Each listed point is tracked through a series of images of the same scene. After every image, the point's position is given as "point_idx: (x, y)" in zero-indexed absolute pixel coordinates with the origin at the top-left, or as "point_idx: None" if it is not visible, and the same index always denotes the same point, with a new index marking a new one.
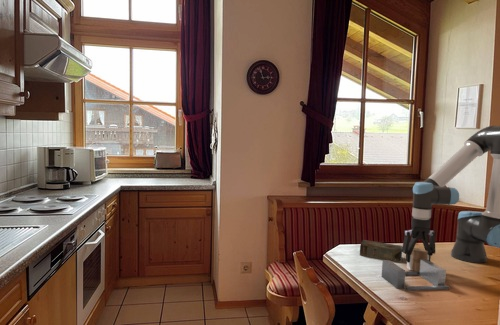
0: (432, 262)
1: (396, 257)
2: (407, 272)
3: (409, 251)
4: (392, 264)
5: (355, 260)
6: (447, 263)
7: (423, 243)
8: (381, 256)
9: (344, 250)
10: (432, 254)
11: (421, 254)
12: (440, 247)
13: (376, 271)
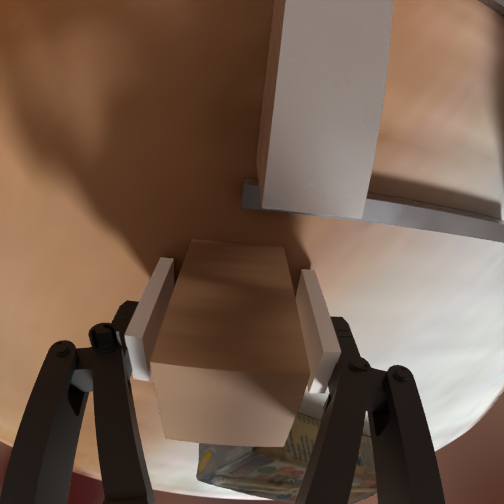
0: (279, 78)
1: None
2: (407, 205)
3: (367, 389)
4: None
5: (451, 397)
6: (4, 324)
7: (147, 473)
8: None
9: None
10: (91, 330)
11: (240, 342)
12: (5, 428)
13: (496, 283)
